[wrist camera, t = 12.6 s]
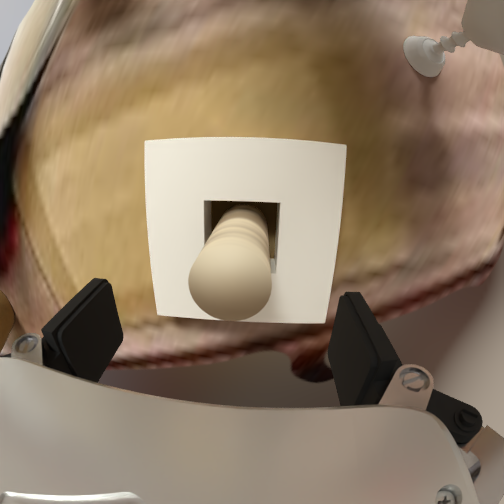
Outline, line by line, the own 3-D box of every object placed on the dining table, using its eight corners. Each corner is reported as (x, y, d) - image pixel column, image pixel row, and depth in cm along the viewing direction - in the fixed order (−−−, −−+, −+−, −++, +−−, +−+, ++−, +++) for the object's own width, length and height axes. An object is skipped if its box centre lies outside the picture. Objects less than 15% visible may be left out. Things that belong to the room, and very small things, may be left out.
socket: (159, 142, 23) (144, 140, 20) (335, 145, 23) (346, 144, 19) (167, 297, 28) (157, 314, 25) (318, 304, 28) (324, 323, 25)
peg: (220, 203, 25) (185, 244, 14) (268, 204, 25) (274, 247, 14) (220, 248, 26) (191, 318, 15) (266, 250, 26) (269, 322, 15)
